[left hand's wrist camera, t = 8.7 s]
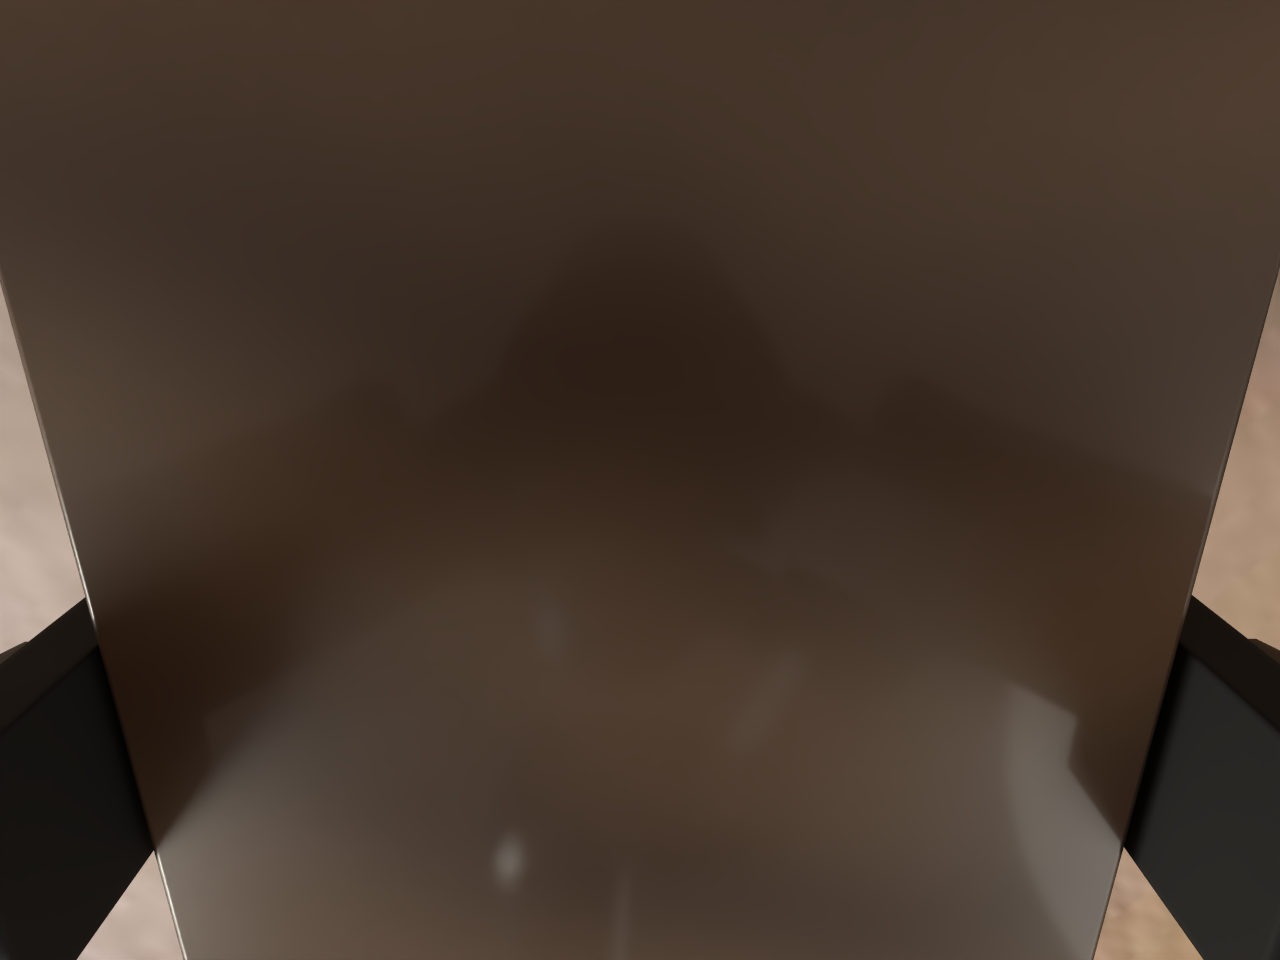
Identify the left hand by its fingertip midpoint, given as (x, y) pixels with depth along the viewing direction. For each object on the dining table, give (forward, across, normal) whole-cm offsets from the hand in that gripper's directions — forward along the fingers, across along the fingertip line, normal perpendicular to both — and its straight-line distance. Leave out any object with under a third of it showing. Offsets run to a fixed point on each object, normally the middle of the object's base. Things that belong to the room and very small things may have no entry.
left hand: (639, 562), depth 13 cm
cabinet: (+6, 0, -5) cm, 8 cm away
